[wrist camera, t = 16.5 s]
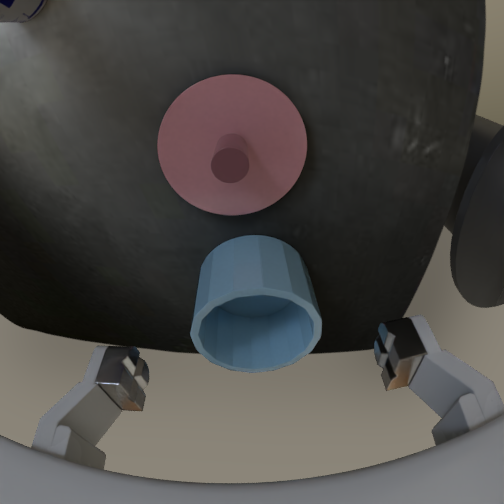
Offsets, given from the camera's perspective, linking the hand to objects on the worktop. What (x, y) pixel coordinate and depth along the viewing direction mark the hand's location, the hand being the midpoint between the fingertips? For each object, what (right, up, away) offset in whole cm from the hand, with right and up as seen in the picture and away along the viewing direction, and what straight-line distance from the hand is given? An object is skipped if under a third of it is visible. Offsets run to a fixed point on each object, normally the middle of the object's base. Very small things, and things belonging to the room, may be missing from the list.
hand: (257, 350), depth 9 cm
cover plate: (-2, +12, +16) cm, 21 cm away
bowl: (0, 0, +26) cm, 26 cm away
